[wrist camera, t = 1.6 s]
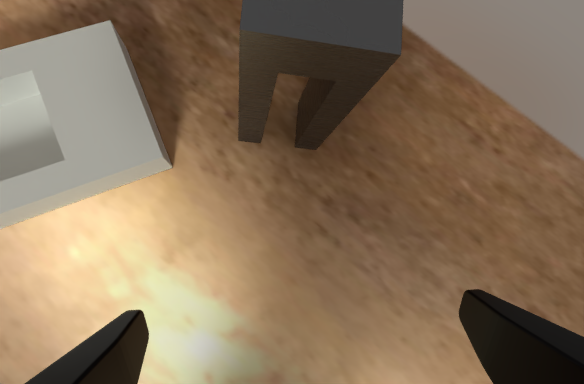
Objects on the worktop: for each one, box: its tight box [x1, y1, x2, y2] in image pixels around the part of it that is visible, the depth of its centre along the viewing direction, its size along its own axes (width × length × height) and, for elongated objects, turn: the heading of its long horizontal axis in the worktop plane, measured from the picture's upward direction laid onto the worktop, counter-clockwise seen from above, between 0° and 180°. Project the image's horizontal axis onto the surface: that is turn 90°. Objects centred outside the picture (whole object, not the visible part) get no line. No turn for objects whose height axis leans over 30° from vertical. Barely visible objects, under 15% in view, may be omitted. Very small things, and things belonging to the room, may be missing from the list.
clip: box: [238, 0, 403, 150], centre depth 17 cm, size 3×5×12 cm, turn 85°
